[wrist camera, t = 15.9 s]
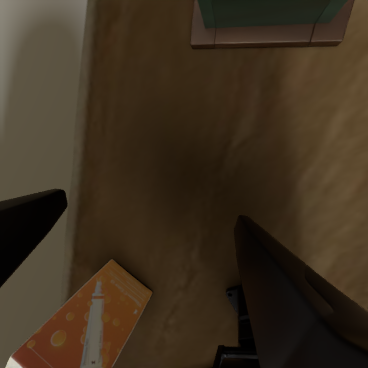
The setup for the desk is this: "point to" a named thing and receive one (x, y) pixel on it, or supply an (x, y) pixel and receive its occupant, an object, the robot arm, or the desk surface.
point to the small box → (87, 324)
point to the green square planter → (269, 23)
